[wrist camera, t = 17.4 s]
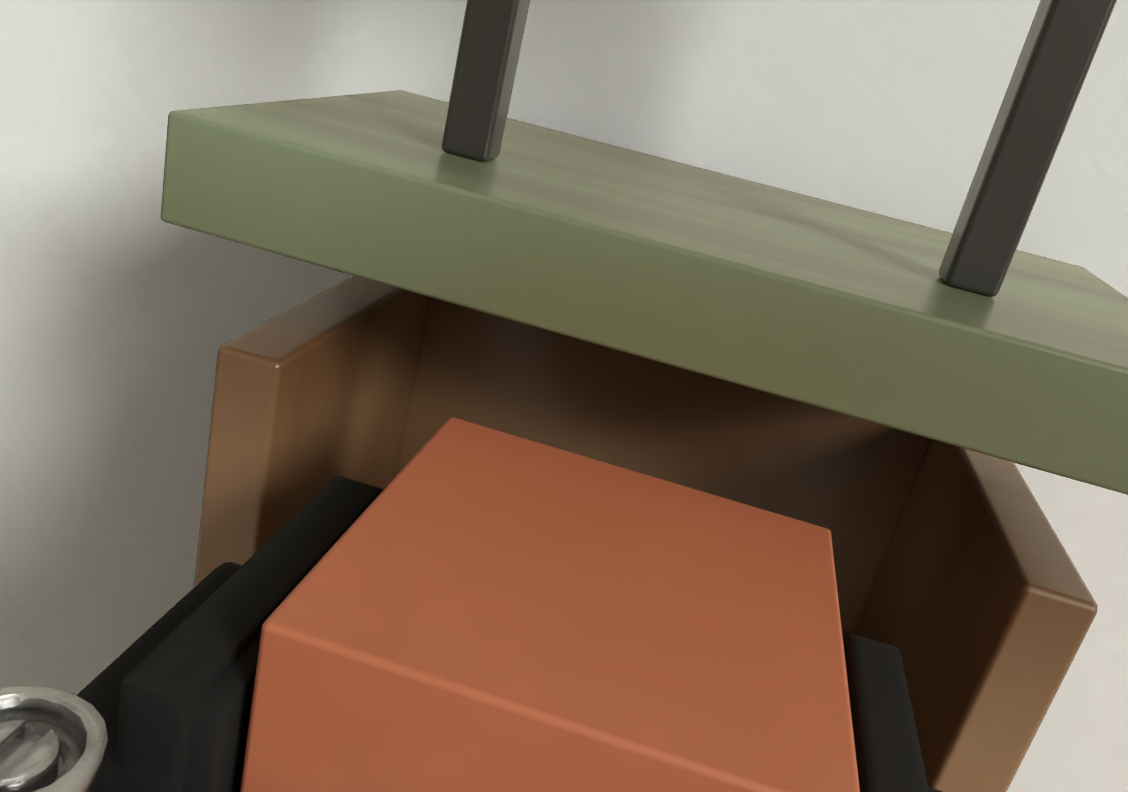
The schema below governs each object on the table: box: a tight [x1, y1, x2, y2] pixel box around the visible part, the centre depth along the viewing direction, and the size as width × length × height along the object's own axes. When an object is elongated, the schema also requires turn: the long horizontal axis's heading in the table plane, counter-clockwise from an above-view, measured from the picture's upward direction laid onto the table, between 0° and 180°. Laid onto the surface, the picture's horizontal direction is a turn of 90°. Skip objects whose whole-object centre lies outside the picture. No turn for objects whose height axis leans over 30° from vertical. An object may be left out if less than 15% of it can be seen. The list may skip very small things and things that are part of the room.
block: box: [240, 417, 860, 792], centre depth 10 cm, size 4×4×4 cm
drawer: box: [161, 0, 1128, 792], centre depth 14 cm, size 21×11×7 cm, turn 167°
